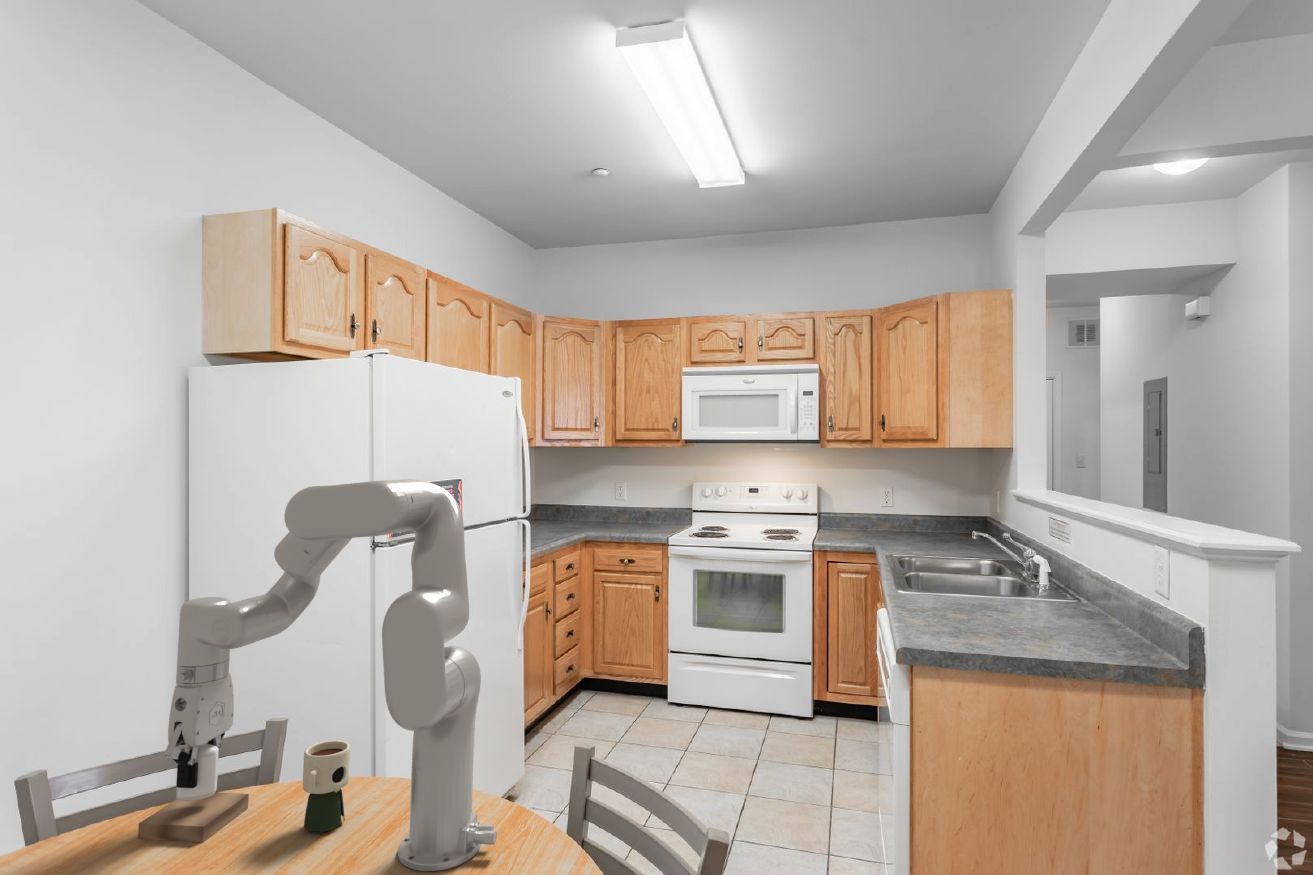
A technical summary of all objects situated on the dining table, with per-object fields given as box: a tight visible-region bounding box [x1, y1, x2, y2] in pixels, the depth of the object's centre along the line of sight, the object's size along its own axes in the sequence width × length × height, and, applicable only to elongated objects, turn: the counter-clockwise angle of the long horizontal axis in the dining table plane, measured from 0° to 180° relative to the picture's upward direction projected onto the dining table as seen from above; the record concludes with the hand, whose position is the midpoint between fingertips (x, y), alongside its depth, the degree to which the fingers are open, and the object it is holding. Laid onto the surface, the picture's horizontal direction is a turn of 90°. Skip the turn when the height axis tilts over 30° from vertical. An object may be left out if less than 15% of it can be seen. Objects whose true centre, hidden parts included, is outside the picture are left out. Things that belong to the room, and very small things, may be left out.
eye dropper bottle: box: [175, 742, 220, 801], centre depth 115 cm, size 4×6×12 cm
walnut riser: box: [137, 792, 250, 843], centre depth 114 cm, size 11×11×2 cm
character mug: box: [302, 739, 351, 833], centre depth 114 cm, size 11×7×13 cm, turn 0°
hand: (197, 779), depth 115 cm, fingers closed on eye dropper bottle, 4 cm apart
